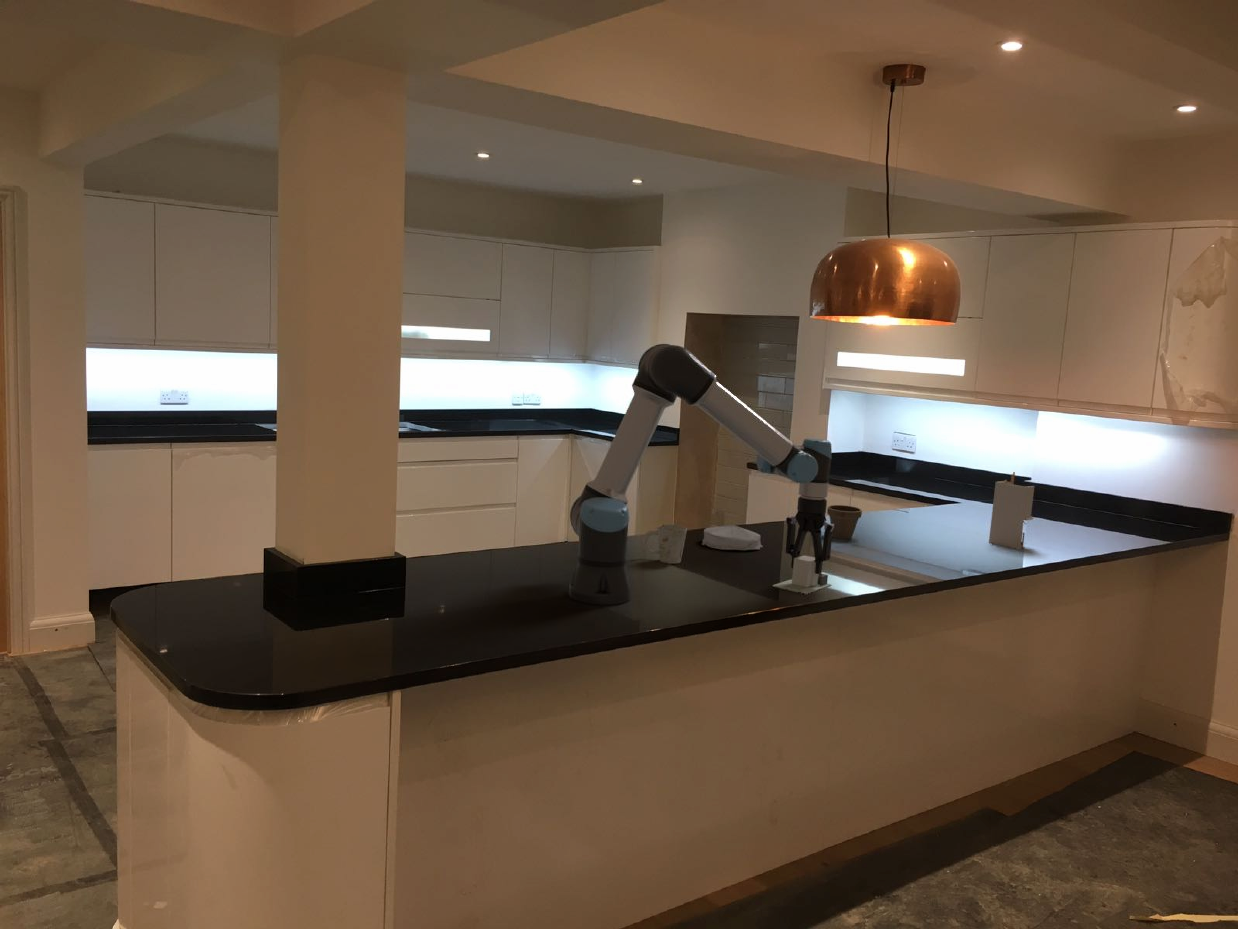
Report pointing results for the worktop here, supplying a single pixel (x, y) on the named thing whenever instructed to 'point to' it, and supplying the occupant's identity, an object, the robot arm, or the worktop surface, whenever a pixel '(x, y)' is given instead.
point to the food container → (731, 538)
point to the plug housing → (802, 571)
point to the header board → (805, 590)
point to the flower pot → (843, 520)
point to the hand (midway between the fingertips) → (804, 583)
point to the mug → (668, 542)
